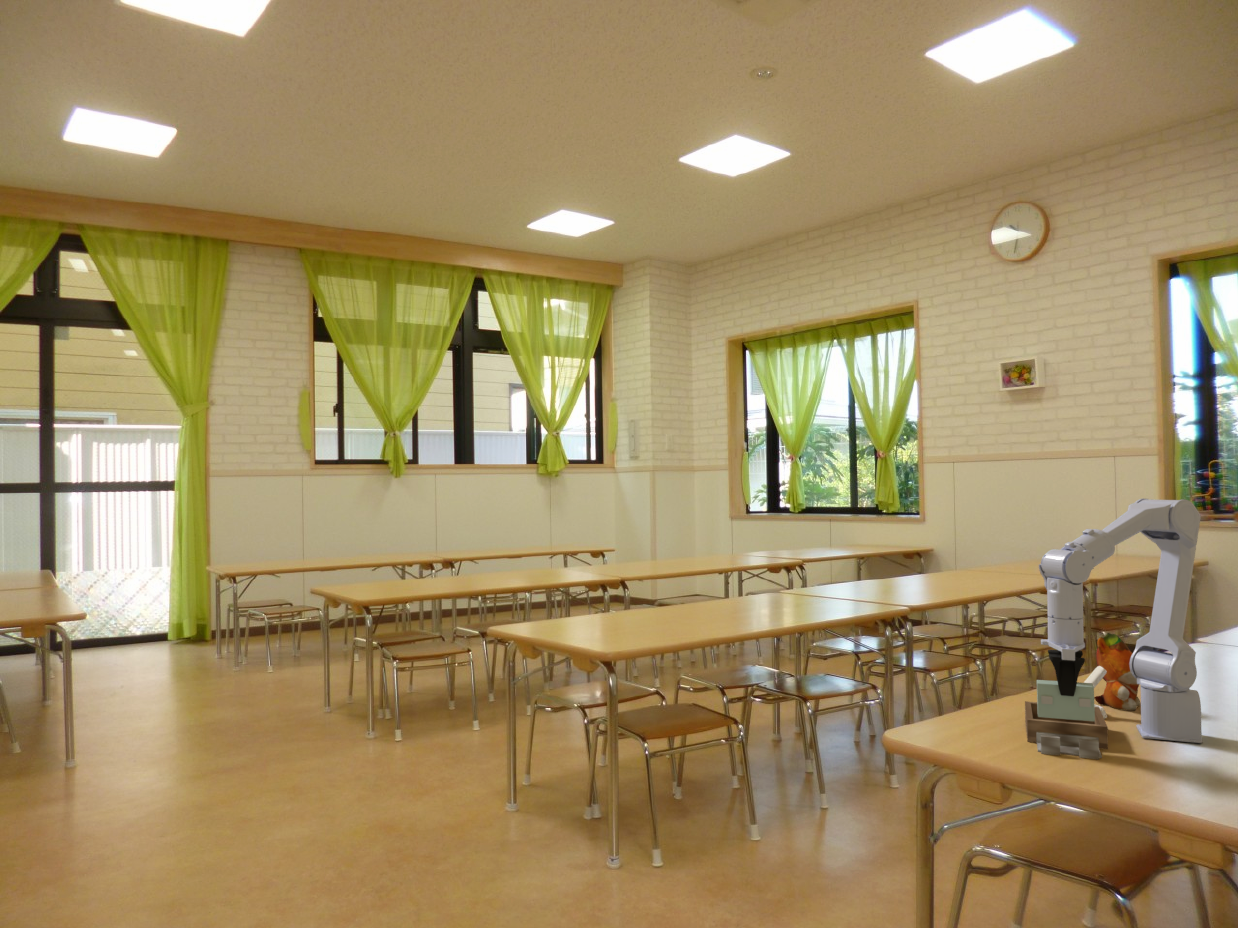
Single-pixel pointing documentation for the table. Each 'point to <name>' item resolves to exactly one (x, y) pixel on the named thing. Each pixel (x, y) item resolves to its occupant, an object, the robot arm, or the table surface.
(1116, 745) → the table surface
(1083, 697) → the door
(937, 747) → the table surface
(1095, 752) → the carcass
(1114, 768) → the table surface
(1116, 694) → the toy
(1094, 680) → the white vr controller
